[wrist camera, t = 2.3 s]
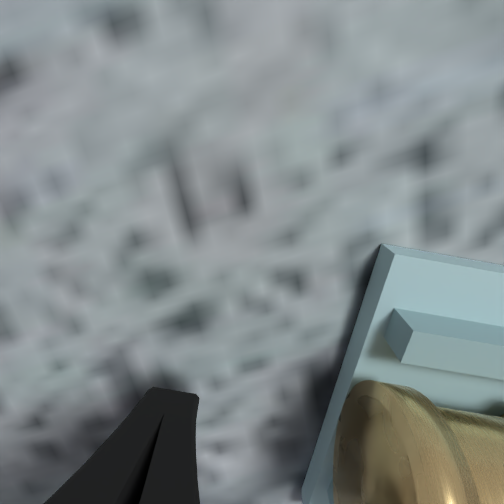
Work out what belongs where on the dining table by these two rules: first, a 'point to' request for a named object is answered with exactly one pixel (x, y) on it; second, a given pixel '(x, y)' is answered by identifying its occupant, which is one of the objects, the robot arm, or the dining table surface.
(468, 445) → the coupling
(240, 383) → the dining table surface
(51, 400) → the dining table surface
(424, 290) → the board
